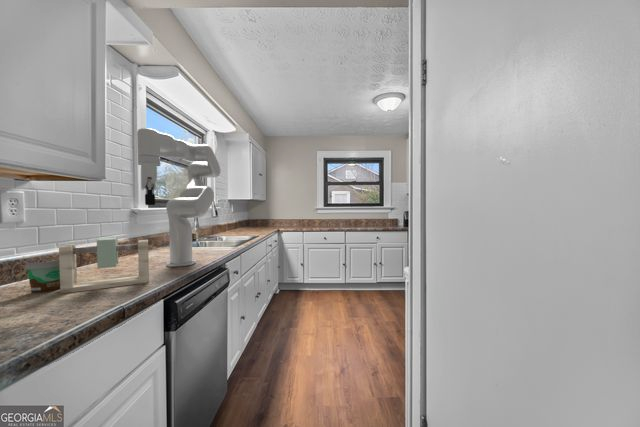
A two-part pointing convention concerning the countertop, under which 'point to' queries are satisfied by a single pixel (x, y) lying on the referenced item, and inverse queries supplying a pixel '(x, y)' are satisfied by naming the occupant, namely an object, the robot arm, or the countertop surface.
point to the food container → (44, 276)
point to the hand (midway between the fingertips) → (150, 204)
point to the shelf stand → (70, 280)
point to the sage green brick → (107, 252)
